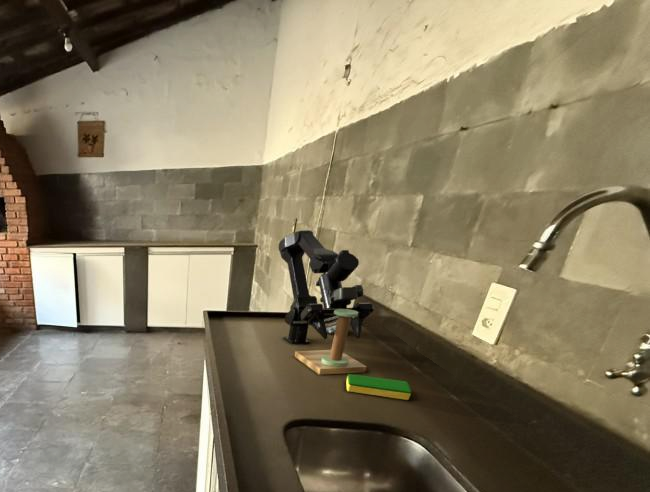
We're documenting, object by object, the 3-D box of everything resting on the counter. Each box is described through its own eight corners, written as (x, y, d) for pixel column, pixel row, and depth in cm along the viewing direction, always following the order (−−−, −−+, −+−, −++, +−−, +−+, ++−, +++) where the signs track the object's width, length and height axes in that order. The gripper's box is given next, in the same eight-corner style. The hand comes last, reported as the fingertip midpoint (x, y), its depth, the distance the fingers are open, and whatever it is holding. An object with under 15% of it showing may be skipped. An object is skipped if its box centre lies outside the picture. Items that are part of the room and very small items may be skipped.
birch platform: (294, 356, 133) (295, 351, 132) (336, 354, 134) (337, 349, 133) (319, 374, 120) (320, 368, 119) (365, 372, 121) (367, 366, 120)
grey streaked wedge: (313, 333, 155) (343, 315, 147) (313, 323, 160) (343, 305, 151) (329, 350, 157) (360, 333, 149) (329, 339, 162) (359, 322, 153)
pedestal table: (316, 361, 124) (327, 310, 117) (330, 356, 127) (341, 307, 120) (338, 368, 119) (351, 315, 112) (352, 363, 122) (365, 312, 115)
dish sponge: (346, 381, 115) (348, 373, 114) (404, 389, 110) (407, 381, 109) (346, 391, 109) (348, 383, 108) (408, 400, 104) (411, 391, 103)
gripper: (312, 275, 116) (323, 325, 111) (379, 273, 116) (392, 323, 111) (296, 297, 126) (304, 343, 121) (357, 296, 126) (368, 342, 121)
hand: (342, 338), depth 118 cm, fingers open, 9 cm apart
